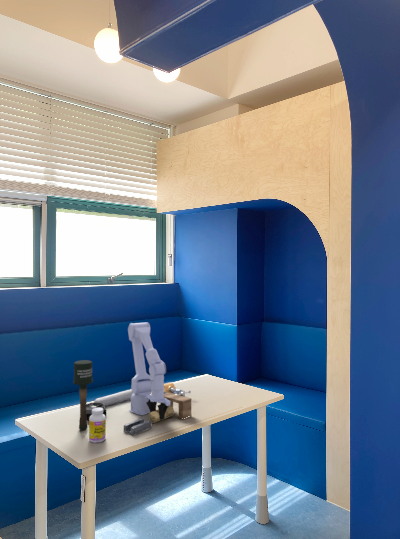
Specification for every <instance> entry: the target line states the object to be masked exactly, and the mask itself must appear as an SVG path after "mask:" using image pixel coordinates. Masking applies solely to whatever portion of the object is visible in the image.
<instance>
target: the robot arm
mask: <svg viewBox="0 0 400 539" xmlns="http://www.w3.org/2000/svg"><path fill="white" fill-rule="evenodd" d="M127 332H128V340H129V341H130V342H131V344H132V345H131V346H132V352H133V360H134V368H135V375H134V377H132V378H131V387H130V389H132V392H133V394H132V396H131V399H130V410H128V412H130V413H134V414H137V415H139V416H145V415H147V414H149V413H150V412H153V411H155V410H158V409H159V417H160V421H163V420H165V419H164V416H165V413H166V410H167V408H168V406H169V405H170V400H167V399H166V398H164V383H165V381H164V380H165V376H164V375H165V374H166V373H167V366H166V363H165V362H164V361H163V360H161V358H160V355H159V353H158V351H157V349H156V348H154V346H153V342H152V340H151V325H150V322H147V321H146V322H135V323H133V322H130V323H129V325H128V327H127ZM143 347H144V348H143ZM144 349H145V351H146V352H145V354H144ZM145 357H146V360H147V363H148V365H149V368H148V372H149V374H148V373H147V369H146V363H145V362H146V361H145ZM158 403H159V404H158ZM160 403H161V404H160ZM157 404H158V405H157ZM162 419H163V420H162Z"/></svg>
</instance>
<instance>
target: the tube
mask: <svg viewBox="0 0 400 539" xmlns="http://www.w3.org/2000/svg"><path fill="white" fill-rule="evenodd" d="M132 394H133V392H132V389H131V388H130V389H126V390H123V391H119V392H116V393H113V394H109V395H105V396H101V397H98V398H95V400H94V401H93V402H92V403H95V402H100V403H103V404H105V408H106V407H109V406H112V405H116V404H119V403H122V402H126V401H131V396H132Z"/></svg>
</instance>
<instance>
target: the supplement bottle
mask: <svg viewBox="0 0 400 539" xmlns="http://www.w3.org/2000/svg"><path fill="white" fill-rule="evenodd" d="M106 419H107V416H106V417H105V415H104V414H103V408H93V409H92V415H91V416H90V418H89V421H88V423H89V424H88V431H89V432H88V438H89V439H88V440H89V442H90V443H94V444H97V443H102V442H103V441H105V440H106V429H107V426H106V425H107V423H106V421H107V420H106Z"/></svg>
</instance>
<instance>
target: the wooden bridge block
mask: <svg viewBox="0 0 400 539" xmlns="http://www.w3.org/2000/svg"><path fill="white" fill-rule="evenodd" d="M164 398H166V399H167V400H170V406H172V407H173V408H174V403H176V404H178V419H180V418H183V419H182V420H185V419H187V418H186V417H188V416H190V415H191V416H192V397H189V396H188V397H187V396H185V397H184V396H180V395H177V394H173V393H166V394H164ZM160 404H161V403H159V405H160ZM191 416H190V417H191ZM184 418H185V419H184ZM188 418H189V417H188Z"/></svg>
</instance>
